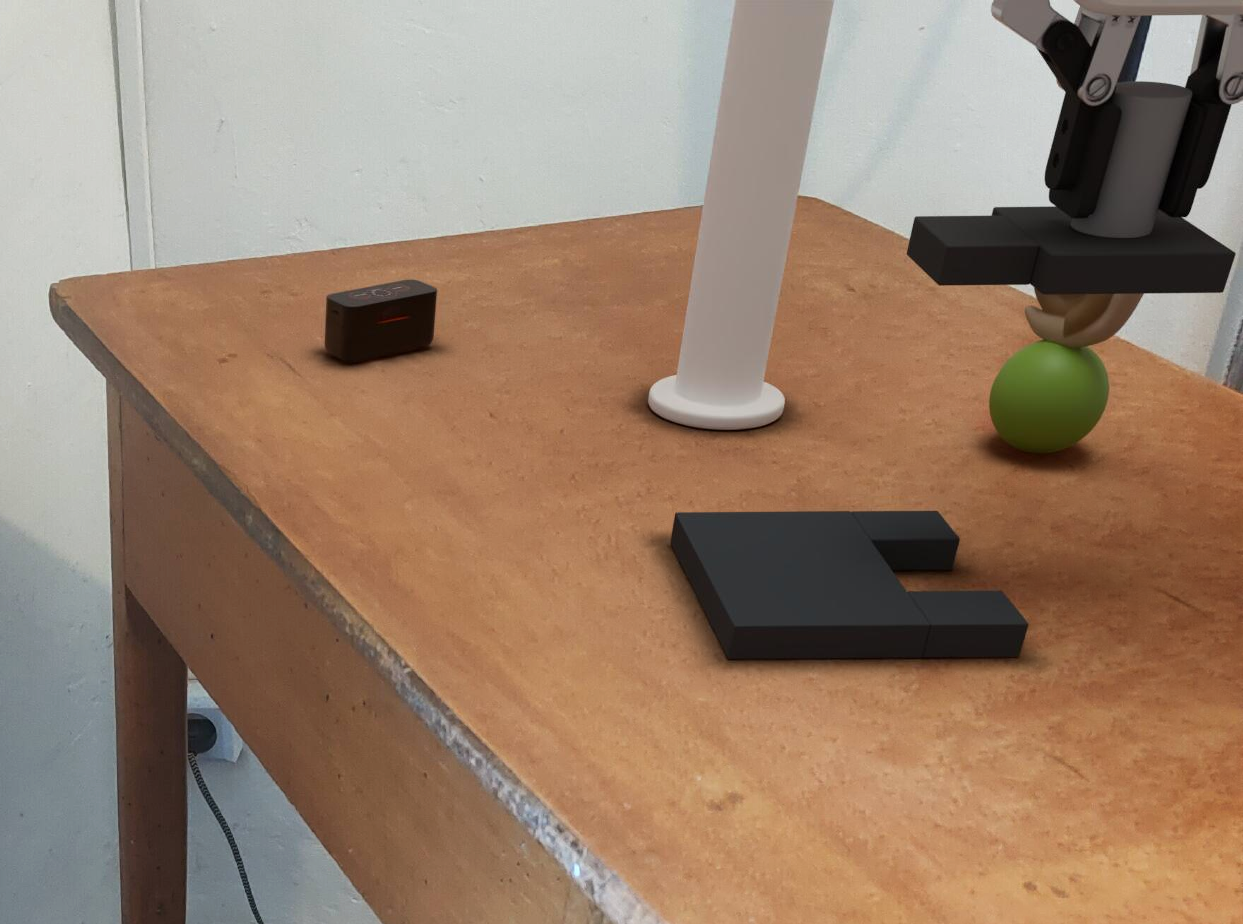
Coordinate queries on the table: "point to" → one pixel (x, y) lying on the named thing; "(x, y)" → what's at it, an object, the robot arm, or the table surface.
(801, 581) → the dock pad
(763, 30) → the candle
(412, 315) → the black bluetooth speaker
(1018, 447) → the snail figurine
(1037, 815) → the table surface
